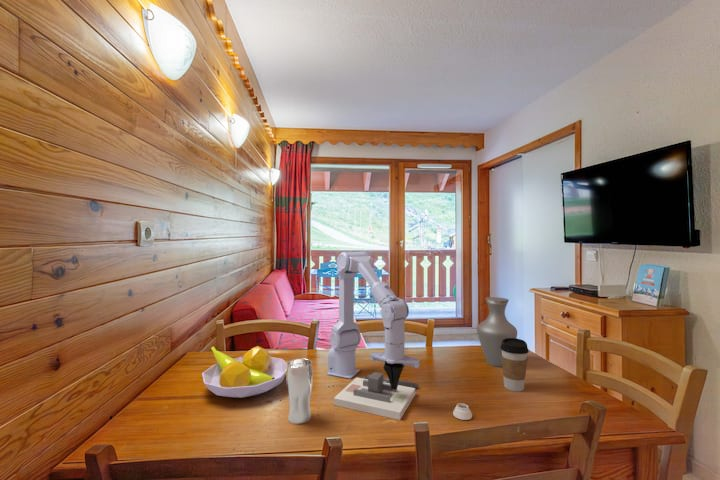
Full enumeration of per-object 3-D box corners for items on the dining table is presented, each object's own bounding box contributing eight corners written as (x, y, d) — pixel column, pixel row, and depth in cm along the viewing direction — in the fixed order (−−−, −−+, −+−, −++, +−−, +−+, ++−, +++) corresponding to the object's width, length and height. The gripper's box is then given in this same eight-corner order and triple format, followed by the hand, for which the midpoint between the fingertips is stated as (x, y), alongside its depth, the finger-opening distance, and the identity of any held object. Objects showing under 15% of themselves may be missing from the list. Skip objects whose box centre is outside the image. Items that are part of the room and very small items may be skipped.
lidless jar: (459, 422, 90) (475, 419, 92) (459, 411, 90) (475, 408, 92) (449, 413, 95) (465, 410, 97) (449, 402, 95) (465, 400, 97)
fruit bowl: (305, 386, 112) (305, 351, 112) (224, 418, 92) (224, 376, 92) (259, 364, 131) (259, 334, 131) (184, 387, 111) (184, 352, 111)
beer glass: (317, 413, 94) (317, 359, 94) (304, 427, 88) (304, 369, 88) (294, 409, 97) (294, 356, 96) (281, 422, 90) (281, 365, 90)
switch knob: (368, 394, 101) (368, 377, 101) (374, 388, 105) (374, 372, 105) (377, 396, 100) (377, 379, 100) (383, 389, 104) (383, 373, 104)
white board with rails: (333, 404, 99) (333, 392, 99) (362, 377, 119) (362, 367, 119) (399, 420, 91) (399, 407, 91) (419, 387, 111) (419, 376, 111)
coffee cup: (528, 384, 113) (528, 339, 113) (528, 395, 106) (529, 347, 105) (500, 380, 117) (500, 336, 117) (499, 390, 109) (499, 343, 109)
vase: (482, 354, 142) (483, 294, 142) (520, 362, 133) (521, 298, 133) (471, 365, 130) (472, 299, 130) (512, 374, 122) (512, 304, 121)
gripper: (366, 342, 99) (366, 389, 100) (415, 349, 93) (415, 398, 94) (375, 335, 106) (375, 379, 106) (421, 341, 100) (421, 388, 100)
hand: (394, 387), depth 100 cm, fingers closed
